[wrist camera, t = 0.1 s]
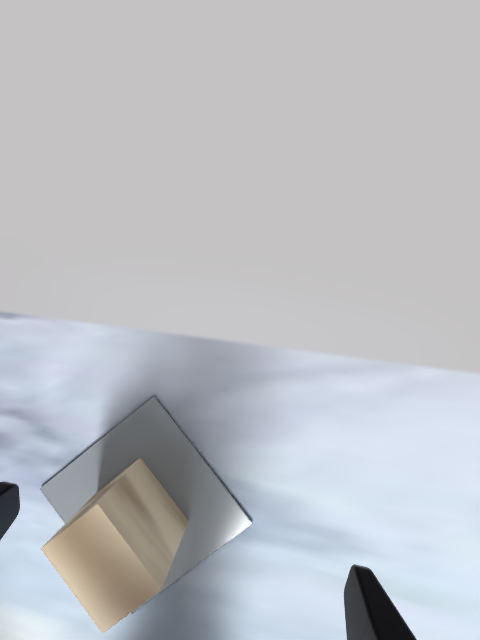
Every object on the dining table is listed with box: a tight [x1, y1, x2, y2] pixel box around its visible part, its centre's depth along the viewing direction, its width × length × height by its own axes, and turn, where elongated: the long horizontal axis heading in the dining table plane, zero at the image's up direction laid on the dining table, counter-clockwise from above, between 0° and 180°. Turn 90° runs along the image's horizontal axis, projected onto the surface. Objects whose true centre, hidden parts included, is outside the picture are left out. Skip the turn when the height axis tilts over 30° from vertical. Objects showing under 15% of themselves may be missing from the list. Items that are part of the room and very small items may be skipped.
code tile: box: [40, 396, 252, 614], centre depth 24 cm, size 12×12×1 cm
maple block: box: [41, 458, 189, 634], centre depth 21 cm, size 4×6×6 cm
